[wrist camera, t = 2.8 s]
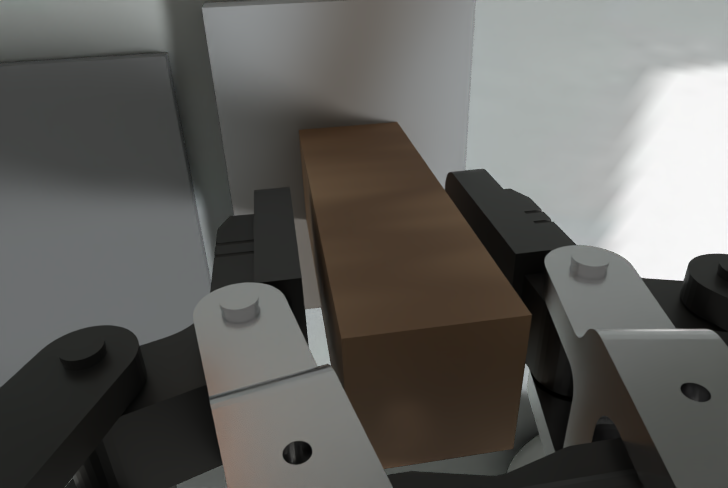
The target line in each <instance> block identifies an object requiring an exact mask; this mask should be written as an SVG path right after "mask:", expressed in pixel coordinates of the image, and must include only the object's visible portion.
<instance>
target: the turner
mask: <svg viewBox="0 0 728 488" xmlns="http://www.w3.org/2000/svg"><path fill="white" fill-rule="evenodd" d="M475 3H476V0H247V1H227V2H208V3H204V5H203V7H202V13H203V19H204V26H205V32H206V39H207V45H208V52H209V58H210V65H211V71H212V77H213V84H214V90H215V97H216V103H217V110H218V116H219V123H220V129H221V135H222V142H223V148H224V155H225V161H226V168H227V174H228V181H229V187H230V193H231V200H232V206H233V213H234V216H237V215H247V214H254V190H261V189H271V188H282V187H290V192H291V200H292V208H293V215H294V223H295V230H296V238H297V246H298V253H299V261H300V268H301V276H302V285H303V295H304V305H305V309H311V308H319V307H321V309H322V315H323V321H324V326H325V332H326V338H327V344H328V350H329V356H330V362H331V367H332V368H333V370H334V371H335V373H336V375H337V377H338V379H339V381H340V383H341V385H342V387H343V389H344V391H345V393H346V395H347V397H348V399H349V401H350V403H351V405H352V407H353V409H354V411H355V413H356V415H357V417H358V419H359V421H360V423H361V425H362V427H363V429H364V431H365V433H366V435H367V437H368V439H369V441H370V443H371V445H372V447H373V449H374V451H375V453H376V455H377V457H378V459H379V461H380V463H381V465H382V467H383V469H387V468H394V467H400V466H406V465H413V464H419V463H426V462H432V461H439V460H445V459H451V458H458V457H464V456H471V455H477V454H484V453H490V452H496V451H503V450H509V449H513V447H514V440H515V433H516V426H517V419H518V411H519V404H520V397H521V390H522V383H523V376H524V368H525V361H526V354H527V347H528V340H529V333H530V325H531V318H532V314H531V313H530V311H529V310H528V308H527V307H526V306H525V304H524V303H523V301H522V300H521V298H520V297H519V296H518V294H517V293H516V291H515V290H514V288H513V287H512V286H511V284H510V283H509V281H508V280H507V278H506V277H505V276H504V274H503V273H502V271H501V270H500V268H499V267H498V266H497V264H496V263H495V261H494V260H493V258H492V257H491V256H490V254H489V253H488V251H487V250H486V248H485V247H484V245H483V244H482V243H481V241H480V240H479V238H478V237H477V235H476V234H475V233H474V231H473V230H472V228H471V227H470V225H469V224H468V223H467V221H466V220H465V218H464V217H463V215H462V214H461V213H460V211H459V210H458V208H457V207H456V205H455V204H454V203H453V201H452V200H451V198H450V197H449V195H448V194H447V193H446V191H445V181H446V177H447V174H448V173H449V172H455V171H465V167H466V151H467V134H468V118H469V101H470V85H471V68H472V52H473V36H474V19H475Z"/></svg>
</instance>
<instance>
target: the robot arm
mask: <svg viewBox="0 0 728 488" xmlns="http://www.w3.org/2000/svg"><path fill="white" fill-rule="evenodd" d="M445 191H446V193H447V194H448V195H449V197H450V198H451V200H452V201H453V203H454V204H455V205H456V207H457V208H458V210H459V211H460V213H461V214H462V215H463V217H464V218H465V220H466V221H467V223H468V224H469V225H470V227H471V228H472V230H473V231H474V233H475V234H476V235H477V237H478V238H479V240H480V241H481V243H482V244H483V245H484V247H485V248H486V250H487V251H488V253H489V254H490V256H491V257H492V258H493V260H494V261H495V263H496V264H497V266H498V267H499V268H500V270H501V271H502V273H503V274H504V276H505V277H506V278H507V280H508V281H509V283H510V284H511V286H512V287H513V288H514V290H515V291H516V293H517V294H518V296H519V297H520V298H521V300H522V301H523V303H524V304H525V306H526V307H527V308H528V310H529V311H530V313H531V314H532V318H531V325H530V333H529V340H528V347H527V354H526V361H525V364H527V366H528V368H529V375H528V382H527V394H528V397H529V401H530V404H531V408H532V411H533V415H534V418H535V422H536V425H537V429H538V432H539V436H540V439H541V443H542V446H543V450H544V453H545V457H543V458H540V459H538V460H536V461H534V462H531V463H529V464H527V465H524V466H522V467H520V468H518V469H515V470H513V471H511V472H508V473H506V474H503V475H498V476H483V475H467V474H450V473H434V472H417V471H409V472H403V473H396V474H390V475H386V473H385V471H384V469H383V467H382V465H381V463H380V461H379V459H378V457H377V455H376V453H375V451H374V449H373V447H372V445H371V443H370V441H369V439H368V437H367V435H366V433H365V431H364V429H363V427H362V425H361V423H360V421H359V419H358V417H357V415H356V413H355V411H354V409H353V407H352V405H351V403H350V401H349V399H348V397H347V395H346V393H345V391H344V389H343V387H342V385H341V383H340V381H339V379H338V377H337V375H336V373H335V371H334V370H333V368H332V367H331V366H330V365H329V364H326V365H322V366H317V364H316V362H315V360H314V358H313V355H312V353H311V351H310V349H309V346H308V336H307V326H306V316H305V305H304V295H303V285H302V276H301V268H300V261H299V253H298V246H297V238H296V230H295V223H294V215H293V208H292V200H291V192H290V187H282V188H271V189H261V190H254V214H247V215H237V216H230V217H229V218H228V219H227V220H226V221H225V222H224V223H223V224H222V225H221V226H220V227H219V229H218V232H217V240H216V248H215V258H214V265H213V273H212V282H211V290H210V293H209V294H208V295H206V296H205V297H204V298H203V299H201V300H200V301H199V303H198V304H197V305H196V307H195V309H194V312H193V321H194V323H193V324H192V325H190V326H189V327H187V328H185V329H184V330H182V331H180V332H178V333H176V334H173V335H171V336H168V337H165V338H162V339H159V340H156V341H153V342H150V343H147V344H144V345H141V346H140V345H139V342H138V339H137V337H136V335H135V334H134V333H133V332H131V331H130V330H128V329H126V328H123V327H119V326H113V325H100V326H92V327H87V328H83V329H79V330H76V331H73V332H71V333H68V334H66V335H64V336H62V337H60V338H58V339H56V340H54V341H53V342H51V343H50V344H48V345H47V346H46V347H44V348H43V349H42V350H41V351H40V352H38V353H37V354H36V355H35V356H34V357H33V358H32V359H31V360H30V361H29V362H28V363H27V364H25V365H24V366H23V367H22V368H21V369H20V370H19V371H18V372H17V373H16V374H15V375H13V376H12V377H11V378H10V379H9V380H8V381H7V382H6V383H5V384H4V385H3V386H2V387H0V488H176V485H177V484H179V483H181V482H184V481H186V480H188V479H191V478H193V477H195V476H197V475H200V474H202V473H204V472H207V471H209V470H211V469H214V468H216V467H218V466H221V465H223V468H224V473H225V478H226V482H227V487H228V488H728V254H706V255H701V256H698V257H695V258H694V259H692V260H691V261H690V262H689V264H688V268H687V271H686V275H685V278H684V281H675V280H660V279H646V278H641V277H640V276H639V274H638V273H637V272H636V270H635V269H634V267H633V266H632V265H631V264H630V262H628V261H627V260H626V259H625V258H623V257H622V256H620V255H618V254H616V253H614V252H611V251H609V250H606V249H602V248H598V247H593V246H585V245H576V244H575V243H574V242H573V241H572V240H571V239H570V238H569V237H568V236H567V235H566V234H565V233H564V232H563V231H562V230H561V229H560V228H559V227H558V226H557V225H556V224H555V223H554V222H551V219H550V218H549V217H548V216H547V215H546V214H545V213H544V212H541V209H540V208H539V207H538V206H537V205H536V204H535V203H534V202H533V201H532V200H531V199H530V198H529V197H527V196H525V195H523V194H520V193H518V192H516V191H514V190H512V189H503V188H502V187H501V186H500V185H499V184H498V183H497V182H496V181H495V180H494V179H493V177H492V176H491V175H490V174H489V173H488V172H487V171H486V170H485V169H476V170H465V171H455V172H449V173H448V174H447V177H446V181H445ZM72 477H73V478H72ZM71 479H72V480H71ZM70 480H71V481H70ZM69 481H70V482H69ZM68 482H69V484H68ZM67 484H68V485H67ZM66 485H67V486H66ZM65 486H66V487H65Z"/></svg>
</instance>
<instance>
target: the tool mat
mask: <svg viewBox="0 0 728 488" xmlns="http://www.w3.org/2000/svg"><path fill="white" fill-rule="evenodd" d="M210 290H211V279H210V274H209V269H208V264H207V258H206V253H205V248H204V243H203V238H202V232H201V227H200V222H199V217H198V211H197V206H196V201H195V196H194V190H193V185H192V180H191V175H190V170H189V164H188V159H187V154H186V149H185V143H184V138H183V133H182V128H181V122H180V117H179V112H178V107H177V102H176V96H175V91H174V86H173V81H172V75H171V70H170V65H169V60H168V55H167V53H151V54H135V55H119V56H104V57H88V58H72V59H57V60H41V61H25V62H9V63H0V387H2V386H3V385H4V384H5V383H6V382H7V381H8V380H9V379H10V378H11V377H12V376H13V375H15V374H16V373H17V372H18V371H19V370H20V369H21V368H22V367H23V366H24V365H25V364H27V363H28V362H29V361H30V360H31V359H32V358H33V357H34V356H35V355H36V354H37V353H38V352H40V351H41V350H42V349H43V348H44V347H46V346H47V345H48V344H50V343H51V342H53V341H54V340H56V339H58V338H60V337H62V336H64V335H66V334H68V333H71V332H73V331H76V330H79V329H83V328H87V327H92V326H100V325H113V326H119V327H123V328H126V329H128V330H130V331H131V332H133V333H134V334H135V335H136V337H137V339H138V342H139V345H140V346H141V345H144V344H147V343H150V342H153V341H156V340H159V339H162V338H165V337H168V336H171V335H173V334H176V333H178V332H180V331H182V330H184V329H185V328H187V327H189V326H190V325H192V324H193V323H194V321H193V312H194V309H195V307H196V305H197V304H198V303H199V301H200V300H201V299H203V298H204V297H205V296H206V295H208V294H209V293H210Z"/></svg>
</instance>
